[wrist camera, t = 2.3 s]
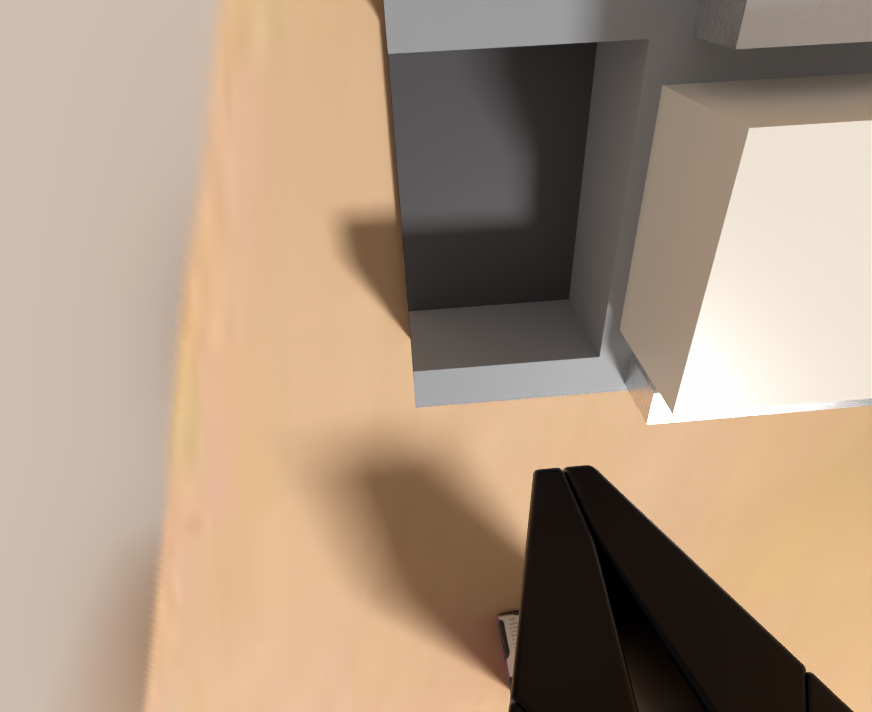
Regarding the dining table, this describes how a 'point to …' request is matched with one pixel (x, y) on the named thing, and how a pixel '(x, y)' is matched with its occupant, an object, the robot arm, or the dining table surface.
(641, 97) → the grey piece
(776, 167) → the cream block
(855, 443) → the dining table surface
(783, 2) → the channel walls
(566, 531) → the robot arm
